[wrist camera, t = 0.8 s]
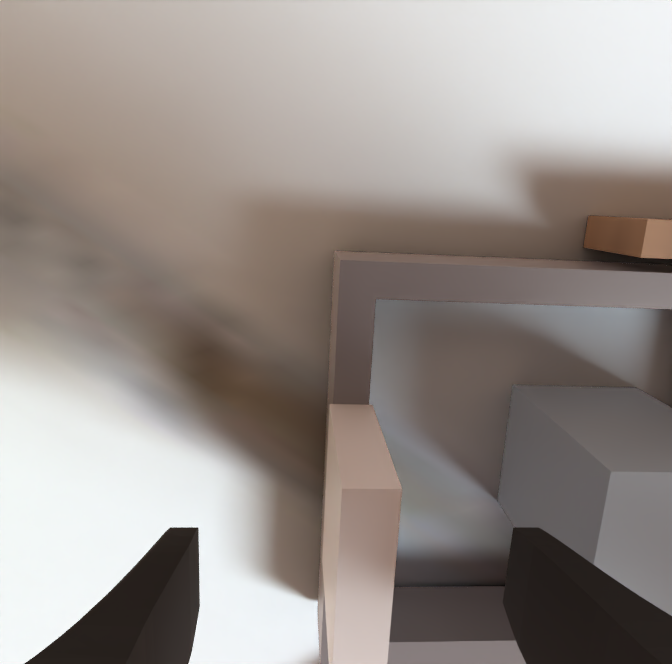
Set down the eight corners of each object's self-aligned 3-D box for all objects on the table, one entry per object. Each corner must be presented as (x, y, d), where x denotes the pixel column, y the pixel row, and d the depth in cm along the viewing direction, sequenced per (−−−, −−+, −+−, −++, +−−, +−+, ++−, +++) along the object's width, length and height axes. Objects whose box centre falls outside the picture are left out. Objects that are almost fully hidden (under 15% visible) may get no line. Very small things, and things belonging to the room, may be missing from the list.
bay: (777, 224, 18) (872, 230, 15) (680, 632, 21) (740, 700, 18) (588, 215, 17) (647, 219, 14) (523, 634, 21) (559, 704, 18)
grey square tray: (731, 267, 17) (1006, 311, 11) (655, 607, 21) (831, 809, 14) (331, 250, 16) (353, 288, 10) (314, 611, 20) (323, 830, 13)
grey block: (635, 387, 19) (787, 473, 13) (614, 500, 20) (745, 628, 14) (512, 384, 18) (611, 471, 13) (496, 500, 19) (581, 630, 14)
